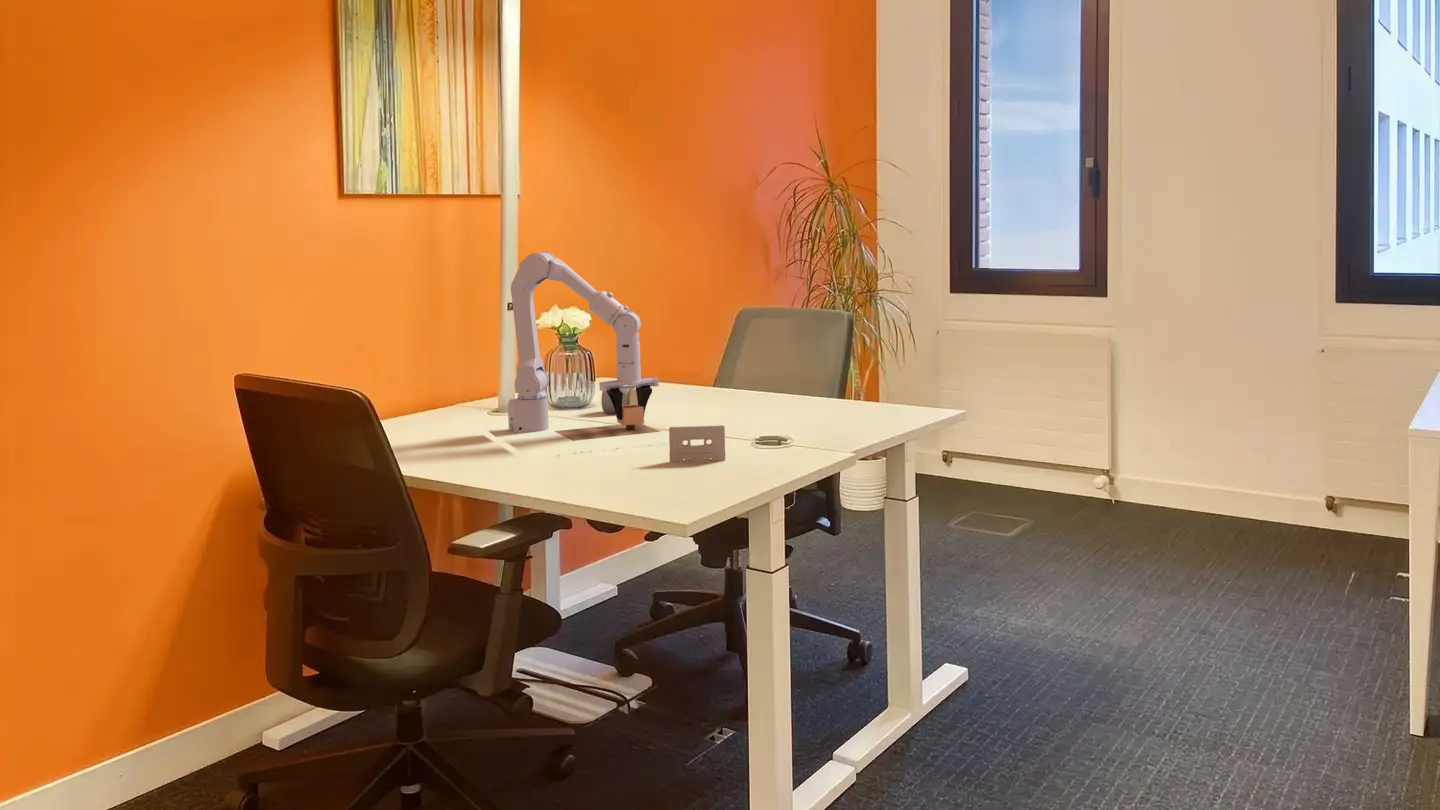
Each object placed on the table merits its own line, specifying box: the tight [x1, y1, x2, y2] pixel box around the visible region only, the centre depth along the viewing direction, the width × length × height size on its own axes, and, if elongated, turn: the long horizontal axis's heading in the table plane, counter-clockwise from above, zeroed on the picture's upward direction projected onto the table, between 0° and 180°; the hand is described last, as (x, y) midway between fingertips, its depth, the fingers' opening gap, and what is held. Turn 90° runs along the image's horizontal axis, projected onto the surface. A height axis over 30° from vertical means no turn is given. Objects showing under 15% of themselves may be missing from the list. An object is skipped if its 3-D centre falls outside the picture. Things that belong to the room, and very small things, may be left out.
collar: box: [616, 404, 645, 425], centre depth 298 cm, size 5×5×4 cm
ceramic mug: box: [601, 388, 638, 414], centre depth 329 cm, size 11×8×8 cm
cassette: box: [668, 424, 726, 463], centre depth 264 cm, size 12×2×8 cm, turn 93°
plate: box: [554, 423, 662, 442], centre depth 296 cm, size 22×14×6 cm, turn 115°
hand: (630, 417), depth 298 cm, fingers closed on collar, 5 cm apart
